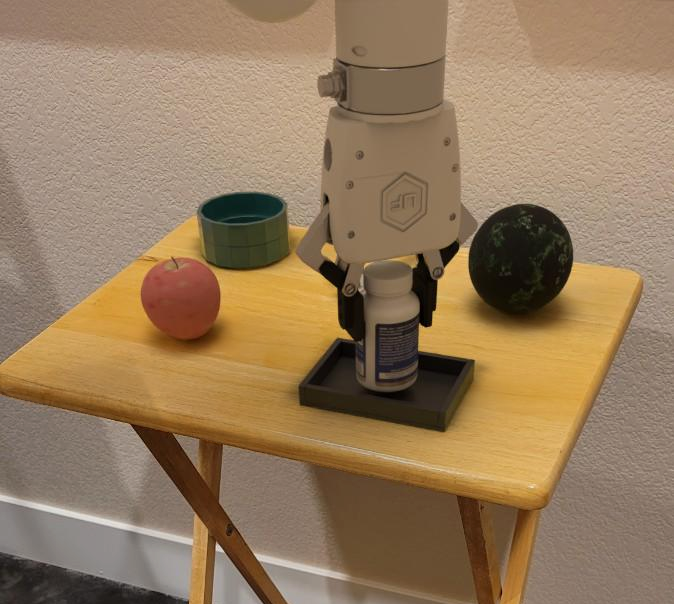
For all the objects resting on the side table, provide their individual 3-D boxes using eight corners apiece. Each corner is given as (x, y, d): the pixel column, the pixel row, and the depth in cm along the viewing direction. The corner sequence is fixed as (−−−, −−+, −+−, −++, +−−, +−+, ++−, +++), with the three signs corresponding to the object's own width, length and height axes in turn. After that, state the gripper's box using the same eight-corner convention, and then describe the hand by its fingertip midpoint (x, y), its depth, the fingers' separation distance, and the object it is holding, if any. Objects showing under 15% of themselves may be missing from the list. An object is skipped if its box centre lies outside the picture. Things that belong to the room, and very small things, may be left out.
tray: (299, 405, 77) (298, 385, 76) (337, 355, 83) (337, 337, 82) (444, 432, 73) (445, 412, 72) (473, 378, 79) (475, 359, 78)
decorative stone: (533, 280, 94) (546, 181, 87) (584, 320, 87) (602, 217, 80) (448, 297, 91) (454, 197, 84) (493, 340, 85) (503, 235, 78)
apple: (192, 360, 83) (179, 278, 78) (134, 341, 86) (118, 261, 81) (240, 328, 88) (231, 248, 82) (183, 311, 91) (171, 233, 85)
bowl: (215, 277, 97) (209, 231, 93) (194, 243, 104) (187, 199, 100) (301, 261, 99) (299, 215, 96) (275, 229, 106) (271, 186, 102)
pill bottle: (428, 372, 78) (433, 264, 71) (398, 400, 75) (401, 289, 68) (375, 357, 80) (376, 251, 73) (344, 384, 77) (341, 275, 70)
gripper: (290, 115, 57) (305, 368, 69) (525, 83, 61) (499, 327, 73) (257, 87, 62) (276, 327, 75) (476, 59, 66) (459, 291, 79)
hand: (387, 325), depth 74 cm, fingers closed on pill bottle, 5 cm apart
